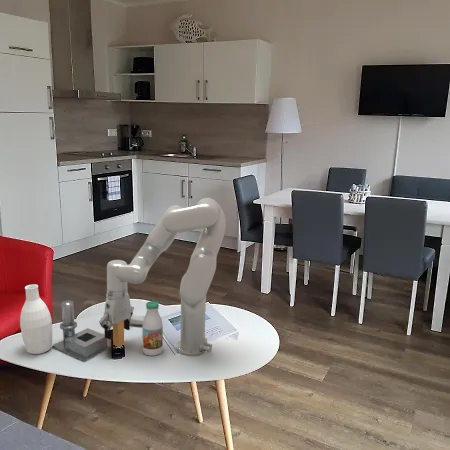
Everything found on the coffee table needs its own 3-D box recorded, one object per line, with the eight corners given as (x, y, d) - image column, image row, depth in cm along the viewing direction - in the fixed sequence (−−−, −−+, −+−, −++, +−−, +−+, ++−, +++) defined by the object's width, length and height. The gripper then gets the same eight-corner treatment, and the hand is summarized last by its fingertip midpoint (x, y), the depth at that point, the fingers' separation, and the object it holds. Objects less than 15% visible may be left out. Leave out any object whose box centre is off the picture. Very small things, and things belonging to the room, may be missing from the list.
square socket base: (110, 347, 178) (109, 307, 174) (84, 362, 168) (82, 319, 164) (77, 334, 188) (75, 295, 184) (50, 346, 178) (47, 306, 174)
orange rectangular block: (124, 346, 180) (123, 318, 177) (118, 349, 177) (118, 320, 175) (118, 344, 181) (118, 316, 179) (113, 347, 179) (112, 318, 176)
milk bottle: (138, 351, 177) (137, 302, 172) (154, 344, 182) (154, 297, 177) (150, 358, 172) (150, 309, 167) (166, 351, 177) (166, 303, 172)
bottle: (17, 353, 172) (7, 290, 166) (37, 339, 182) (29, 279, 176) (41, 357, 169) (33, 293, 163) (61, 343, 179) (53, 282, 173)
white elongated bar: (158, 321, 194) (100, 310, 195) (156, 335, 196) (98, 324, 196) (160, 316, 199) (104, 305, 200) (158, 329, 201) (102, 319, 201)
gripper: (107, 302, 165) (107, 345, 169) (140, 288, 179) (139, 328, 183) (92, 296, 169) (93, 339, 173) (126, 283, 183) (126, 323, 187)
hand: (117, 333), depth 178 cm, fingers open, 9 cm apart
